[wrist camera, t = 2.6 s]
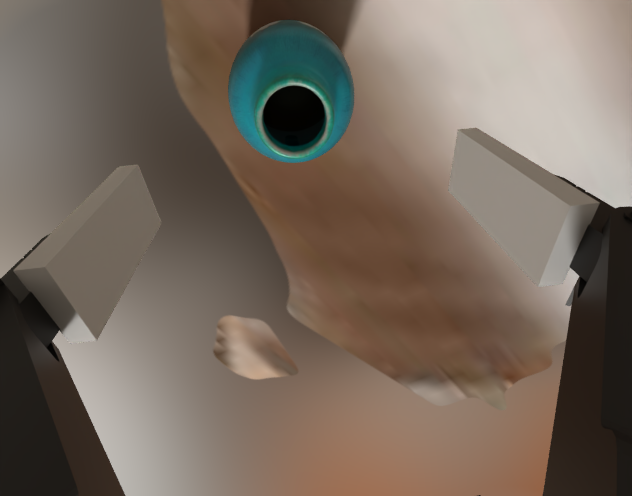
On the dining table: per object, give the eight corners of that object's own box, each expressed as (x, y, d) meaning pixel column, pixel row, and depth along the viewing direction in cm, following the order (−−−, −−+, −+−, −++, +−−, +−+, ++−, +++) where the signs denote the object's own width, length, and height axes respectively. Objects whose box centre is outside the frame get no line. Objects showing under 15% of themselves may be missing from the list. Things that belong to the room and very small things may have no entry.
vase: (350, 40, 36) (402, 63, 21) (318, 135, 42) (339, 209, 26) (253, 0, 34) (229, -8, 18) (232, 107, 39) (200, 171, 24)
